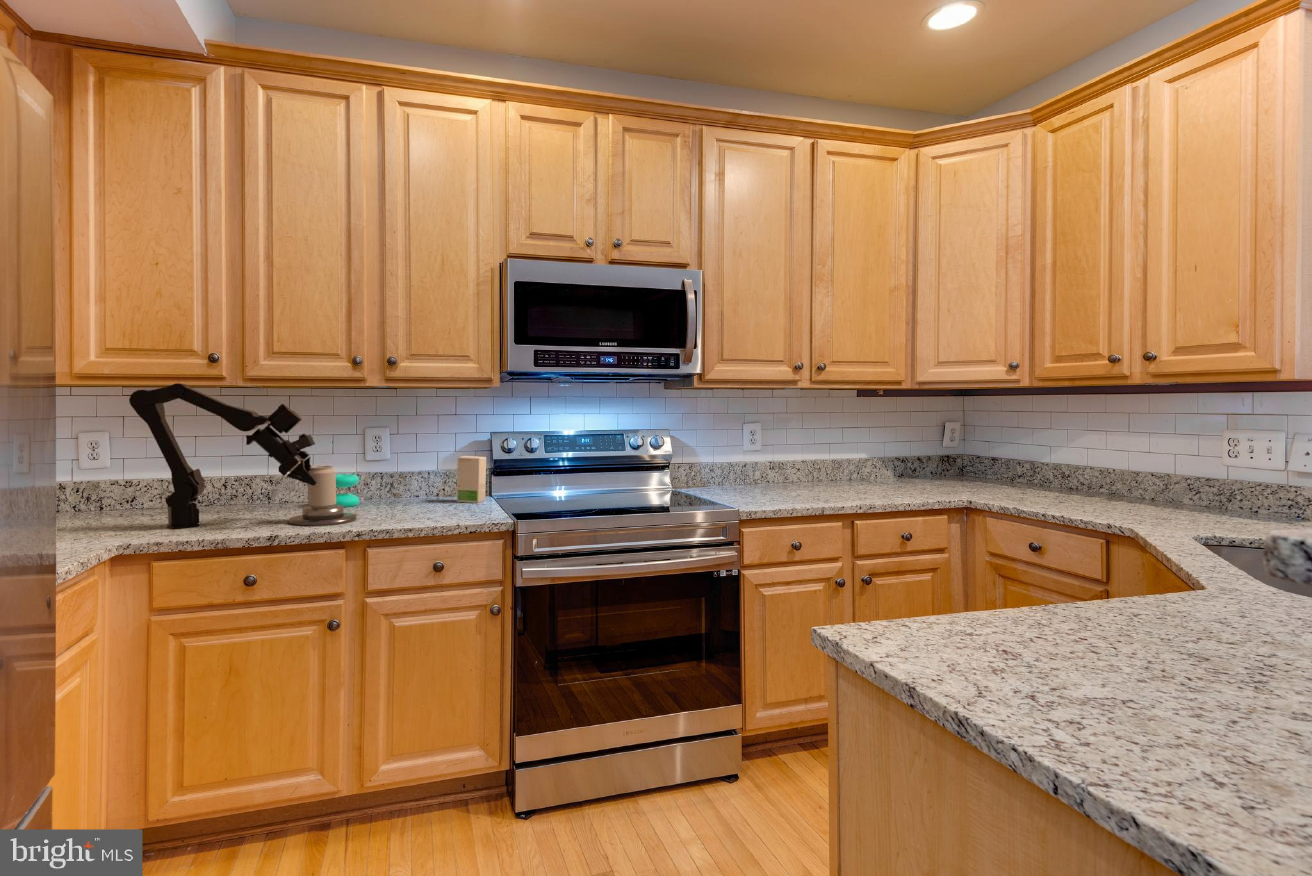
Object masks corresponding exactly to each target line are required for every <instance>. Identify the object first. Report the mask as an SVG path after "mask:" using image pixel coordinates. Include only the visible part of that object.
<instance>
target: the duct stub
mask: <svg viewBox="0 0 1312 876" xmlns="http://www.w3.org/2000/svg"><path fill="white" fill-rule="evenodd" d="M344 508H345V507H343V505H338V504H335V505H334V506H333V507H331V508H323V509H315V508H311V507H310V506H309V505H307V506H303V507H302V508H301V510H302V511H301V512H302V513H301V514H299V515H295V516H291V517H289V519H288V524H289V525H292V526H296V527H298V526H299V527H322V526H323V527H326V526H337V525H343V524H348V523H352V522H355V521H356V520H357V514H355V513H351V512H345V511H344V510H345V509H344Z"/></svg>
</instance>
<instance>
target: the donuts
mask: <svg viewBox="0 0 1312 876" xmlns="http://www.w3.org/2000/svg"><path fill="white" fill-rule="evenodd" d="M359 482H360V478H359V476H358V475H355V474H351V473H350V474H349V473H348V474H347V473H345V474H344V473H343V474H336V488H350V487H353V486H356V485H357V484H358V483H359ZM336 504H338V505H343V507H344V508H350V507H355V506H357V505H358V504H360V498H359V497H358V496H357V495H355V494H352V493H340V494H339V493H338V494H337V493H336Z"/></svg>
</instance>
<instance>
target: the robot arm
mask: <svg viewBox="0 0 1312 876" xmlns="http://www.w3.org/2000/svg"><path fill="white" fill-rule="evenodd" d="M178 399H179V400H182V401H184V402H186V403H188V404H191V405H193V406H196V407H198V408H199V409H202V410H204V411H207V412H209V413H211V414H213V415H216V416H217V417H220V418H221V419H222V420H224V421H225V422H227V424H229V425H231V426H232V427H234V428H236V429H237V430H239V431H240V432H241V431H242V432H250V431H253V430H255V431H254V432H253V433H252V434H246V435H245V438H246V442H245V443H246V446H249V445H252V444H253V443H254V442H255V443H256V444H257V445H258V446H259V447H261V448H262V450H264V451H265V452H266V453H267V454H268V456H269V458H273V459H274V460H275V461H276V462H277V463H279V464H280V465H279V466H278V472H279V473H280V474H281V475H282V476H283V477H286V478H290V479H294V480H296V481H299V482H303V483H304V484H307V485H308V484H310V485H313V486H314V485H315V484H316V482H315V480H314V479H313V478H312V477H311V475H310V474H309V473H308V471H309V470H310V467H313V465H311V456H310V454H309V453H308V452H307V451H306V450H304V449H306V448H309V447H312V446H314V445H316V442H315V441H314V438H313V437H312V435H311V434H308V435H307V434H306V433H305V432H304V433H302V434H300V435H298V439H296V440H293V441H290V440H289V439H285V438H283V437H282V436H281V434H283V433H285V434H288V433H290V431H291V430H292V429H294V428H295V427H296V426H297V425H298V424H299V423H301V421H302V420H303V418H302V417H301V416H300V415H299V414H298V413H297V412H296V411H295V410H292V409H291V408H290V407H288V406H287V405H286V404H284V403H281V404H279V406H278V407H277V409H276V410H275V411H273V412H272V413H271V414H270V415H269V416H268V415H260V414H259V413H258V412H256V411H254V410H251V409H248V408H244V407H239V406H235V405H231V404H229V403H228V404H227V403H226V402H224V401H221V400H219V399H216V398H215V397H212V396H210V395H207V394H206V393H204V392H201V391H198V390H197V389H195V388H192V387H190V386H188V385H187V384H185V383H183V382H182V383H173V384H172V385H167V386H164V387H159V388H155V389H137V390H135V391H134V392H132V393H131V395H130V397H129V399H128V400H129V405H130V406H131V408H132V409H133V410H134V412H135V413H136V414H137V415H138V416H139V418H140V419H141V420H143V422H144V423H146V424H147V426H148V428H149V430H150V432H151V434H152V436H153V438H154V440H155V442H156V443H157V446H158V448H159V450H160V452H161V454H162V456H163V458H164V460H165V462H166V464H167V466H168V468H169V470H170V474H171V482H172V486H173V490H174V491H173V492H172V493H171V494H170V495H169V496H167V498H165V499H164V501H165V503H166V506H167V517H168V518H167V519H168V520H167V521H168V523H166V524H165V525H166V527H167V528H170V529H171V530H174V529H183V528H184V529H185V528H192V527H193V528H194V527H199V526H200V508H199V507H197V506H198V505H197V503H196V502H197V500H198V498H199V496H201V495H202V494H203V493H204V491H205V489H206V488H205V487H206V486H205V483H206V482H207V480H206V479H204V477H203V476H202V472H201V470H200V468H196V469H193V468H192V467H191V466H190V465H189V464H188V461H187V459H186V457H185V455H184V454H183V451H182V450H181V447H180V446H179V444H178V441H177V439H176V437H175V436H174V433H173V431H172V430H171V427H170V425H169V423H168V422H167V419H166V412H165V405H164V404H167V403H169V402H172V401H175V400H178ZM262 425H263V426H264V425H265V426H264V427H263V429H262V428H260V427H259V426H262ZM276 431H277V432H276Z"/></svg>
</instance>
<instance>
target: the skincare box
mask: <svg viewBox="0 0 1312 876" xmlns="http://www.w3.org/2000/svg"><path fill="white" fill-rule="evenodd" d="M456 467H457V468H456V471H457V475H456V502H457V503H468V504H469V503H471V504H479V503H482V501H483V502H485V501H486V484H487V483H486V482H487V481H486V480H487V477H486V476H487V457H486V456H476V455H475V456H474V455H473V456H472V455H462V456H457V466H456Z"/></svg>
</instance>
